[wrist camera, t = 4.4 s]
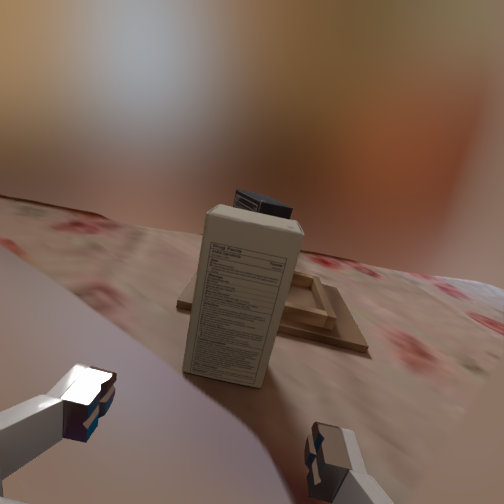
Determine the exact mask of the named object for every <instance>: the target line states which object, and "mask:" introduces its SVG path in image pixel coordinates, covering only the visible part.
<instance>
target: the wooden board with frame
mask: <svg viewBox="0 0 504 504" xmlns="http://www.w3.org/2000/svg"><path fill="white" fill-rule="evenodd" d="M196 277H197V273H196V274H195V275H194V277H193V278H192V280H191V281H190V283H189V284H188V286H187V287H186V288H185V290H184V291H183V293H182V294H181V296H180V297H179V299H178V300H177V306H176V307H180V308H184V309H188V310H191V309H192V303H193V296H194V290H195V283H196ZM278 332H282V333H286V334H290V335H294V336H298V337H302V338H306V339H310V340H315V341H319V342H323V343H327V344H331V345H335V346H339V347H343V348H347V349H351V350H355V351H360V352H364V353H366V351H367V349H368V347H369V346H368V345H367V343H366V341H365V339H364V337H363V335H362V334H361V332H360V330H359V328H358V326H357V324H356V323H355V321H354V319H353V317H352V315H351V313H350V312H349V310H348V308H347V306H346V304H345V303H344V301H343V299H342V297H341V295H340V293H339V292H338V290H337V288H335V287H331V286H327V285H323V284H322V283H321V281H320V279H319V277H316V276H312V275H308V274H304V273H300V272H295V271H294V273H293V277H292V281H291V284H290V288H289V291H288V295H287V299H286V302H285V306H284V309H283V313H282V317H281V320H280V324H279V327H278Z"/></svg>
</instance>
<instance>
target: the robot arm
mask: <svg viewBox="0 0 504 504" xmlns="http://www.w3.org/2000/svg"><path fill="white" fill-rule="evenodd" d="M116 376H117V374H116V373H115V372H111V371H107V370H104V369H100V368H96V367H93V366H88V365H84V364H81V363H78V364H76V365H74V366H73V367H72V368H71V369H70V370H69V371H68V372H67V373H66V375H64V376H63V377H62V378H61V379H60V381H59V382H58V383H57V384H56V385H55V386H54V387H53V388H52V389H51V390H50V391H49V392H48V393H47V394H46V395H38V396H36V397H34V398H32V399H30V400H27V401H25V402H22V403H20V404H18V405H15V406H13V407H11V408H9V409H6V410H4V411H2V412H0V504H28V503H24V502H20V501H16V500H12V499H7V498H3V487H2V480H3V479H5V478H6V477H8V476H9V475H11V474H12V473H14V472H15V471H17V470H18V469H19V468H21V467H22V466H24V465H25V464H27V463H28V462H30V461H31V460H33V459H34V458H36V457H37V456H39V455H40V454H42V453H43V452H45V451H46V450H47V449H49V448H50V447H52V446H53V445H55V444H56V443H58V442H59V441H61V440H62V438H66V439H71V440H75V441H80V442H85V443H86V442H87V440H88V439H89V438H90V436H91V434H92V433H93V432H94V430H95V429H96V427H97V426H98V418H100V417H102V416H104V415H105V414H106V412H107V411H108V409H109V407H110V405H111V403H112V401H113V398H114V395H115V388H114V386H113V384H114V383H115V381H116ZM311 429H312V434H311V435H309V436H308V438H307V440H306V444H305V450H304V457H305V464H306V466H307V467H308V469H309V473H308V475H307V483H308V491H309V497H311V498H315V499H318V500H322V501H325V502H329V503H332V504H394V503H393V501H392V500H391V499H390V498H389V497H388V495H387V494H386V493H385V492H384V490H383V489H382V488H381V487H380V485H379V484H378V483H377V482H376V480H375V479H374V478H373V477H372V475H369V474H367V471H366V468H365V465H364V462H363V459H362V455H361V452H360V449H359V446H358V443H357V440H356V437H355V434H354V432H353V431H352V430H349V429H345V428H339V427H337V426H332V425H328V424H324V423H319V422H315V423H313V426H312V428H311Z"/></svg>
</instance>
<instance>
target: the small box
mask: <svg viewBox="0 0 504 504" xmlns="http://www.w3.org/2000/svg"><path fill="white" fill-rule="evenodd" d="M233 207H235V208H240V209H244V210H248V211H253V212H257V213H262V214H266V215H271V216H275V217H279V218H285V219H290V216H291V213H292V210H293V208H292V207H290V206H288V205H285V204H283V203H281V202H279V201H276V200H274V199H272V198H269V197H267V196H265V195H261V194H256V193H252V192H248V191H244V190H239V189H236V194H235V200H234V205H233Z"/></svg>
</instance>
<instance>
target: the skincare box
mask: <svg viewBox="0 0 504 504" xmlns="http://www.w3.org/2000/svg"><path fill="white" fill-rule="evenodd" d="M303 238H304V233H303V231H302V229H301V226H300V224H299V223H298V222H297V221H294V220H289V219H285V218H279V217H275V216H271V215H266V214H262V213H257V212H253V211H248V210H244V209H240V208H235V207H230V206H226V205H222V204H219V205H218V206H216V207H214V208H213V209H211V210H210V211H208V212H206V218H205V225H204V232H203V238H202V245H201V251H200V257H199V264H198V270H197V277H196V283H195V290H194V296H193V303H192V309H191V316H190V322H189V329H188V334H187V341H186V348H185V354H184V361H183V367H182V370H183V371H184V372H188V373H192V374H196V375H200V376H204V377H209V378H213V379H218V380H223V381H227V382H232V383H237V384H242V385H247V386H252V387H257V388H261V387H262V384H263V380H264V377H265V373H266V370H267V366H268V363H269V359H270V356H271V352H272V349H273V345H274V341H275V338H276V334H277V331H278V327H279V324H280V320H281V317H282V313H283V309H284V306H285V302H286V299H287V295H288V291H289V288H290V284H291V281H292V277H293V273H294V270H295V266H296V263H297V259H298V256H299V252H300V249H301V245H302V242H303Z"/></svg>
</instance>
